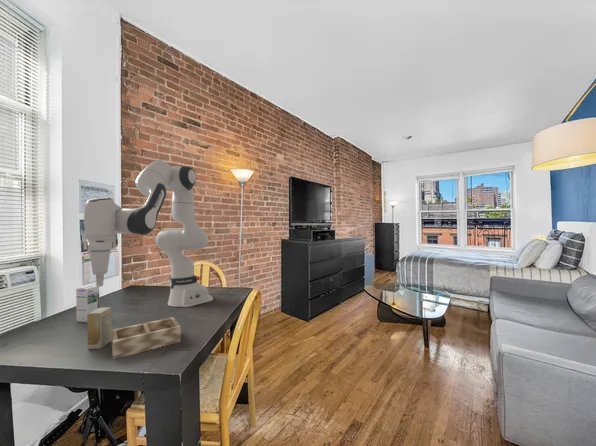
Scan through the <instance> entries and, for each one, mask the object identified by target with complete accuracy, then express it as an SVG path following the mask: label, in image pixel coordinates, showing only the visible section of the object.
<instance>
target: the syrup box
mask: <svg viewBox="0 0 596 446" xmlns="http://www.w3.org/2000/svg"><path fill="white" fill-rule="evenodd" d="M75 292H76V293H75V295H76V296H75V299H76V300H75V302H76V305H75V306H76V308H75V309H76V322H79V323H80V322H82V323H87V314H88V313H90V312H92V311H93V310H95V309H97V308H100V287H97V286H96V284H91V285H86V286H81V287H77V288H76V289H75Z"/></svg>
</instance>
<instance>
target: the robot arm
mask: <svg viewBox="0 0 596 446" xmlns="http://www.w3.org/2000/svg"><path fill="white" fill-rule="evenodd" d="M196 174H197V173H196V171H195V170H194V169H193V168H192V167H191V166H186V165H182V166H180V165H176V166H173V165H172V166H171V165H170V163H168V162H167V161H164V160H161V159H160V160H159V159H156V160H153V161H152V162H151V163H150V164H149V163H148V165H146V166H145V167H144V169H143V170H141V172H140V173H139V174H138V175H137V177H136V178H135V186H136V189H137V191H139V193H141V195H143V196H145V197H147V199H146V201H145V203H144V205H143V206H139V207H136V208H123V207H121V206H119V205H118V204H117V203H116V202H115V201H114V199H113V198H111V197H93V198H90V199H88V200H87V201H86V202H85V205H84V211H83V224H84V228H85V229H84V232H83V250H85V251H87V252H88V255H89V258H90V264H91V271H92V274H93V275H95V281H96V282H95V283H96V284H95V285H96V286H97V287H99V288H100V287H103V286H104V279H105V274H107V273H108V269H109V263H110V256H111V254H112V250H114V249H116V246H117V244H116V239H117V238H116V237H117V234H122V235H132V234H133V235H140V236H141V235H142V236H145V235H146V236H147V235H149V234H150V233H151V232H152V231H153V230H154V229H155V227H156V225H157V220H158V216H159V214H160V211H161V209H162V206H163V204H164V202H165V200H166V197H167V189H169V190H171V189H172V195H171V219H173V221H175V222H177V223H179V224H180V225H182V227H183V228H182V229H165V230H161V231H159V232H158V233H157V235H156V237H155V243H156V246H157V248H158V249H160V250H161V251H162V252H164V254H166V256H167V258H168V260H169V264H170V277H169V288H170V293H169V297H168V302H167V305H168V307H169V306H170V307H174V308H175V307H176V308H177V307H180V308H181V307H182V308H189V307H194V306H196V305H197V306H198V305H200V304H204V303H208V302H209V303H210V302H212V301H213V300H214V298H213V296H212V295H211V294H209V291H208V288H207V287H206V286H205V285H203V284H201V283H200V282H198V281H200V280H201V277H200V276H199V275H195V274H194V273H195V272H194V271H195V268H194V267H195V264H194V260H193V259H192V258H191V257H189V256H188V255H187V256H186V255H184V252H183V251H196V250H201V249H205V248H206V246H207V245H208V243H209V237H208V234H207V232H206V231H205V230H203V229H202V228H201V227H200V226H199V224H198V223H197V220H196V218H195V217H196V216H195V196H194V194H195V193H194V190H193V187H194V186H195V184H196V182H197V175H196Z"/></svg>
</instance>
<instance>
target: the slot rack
mask: <svg viewBox="0 0 596 446" xmlns="http://www.w3.org/2000/svg"><path fill="white" fill-rule="evenodd" d="M181 330H182V329H181V325H180V324H179V322H178V321H177V320H176V319H175V317H173V316H172V317H167V318H162V319H159V320H158V319H157V320H153V321H148V322H144V323H138V324H135V325H130V326H129V325H128V326H124V327H120V328H119V327H118V328H114V329H112V340H111V352H112V360H118V359H120V358H125V357H128V356H132V355H136V354H140V353H142V352H143V353H144V352H147V351H151V349H152V350H154V349H159V348H162V346H163V347H167V346H171V345H174V344H178V343H181V342H182V341H181V339H182V338H181V336H182V335H181V333H182V331H181ZM170 344H171V345H170ZM166 345H167V346H166ZM158 347H159V348H158Z"/></svg>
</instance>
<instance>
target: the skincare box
mask: <svg viewBox="0 0 596 446" xmlns="http://www.w3.org/2000/svg"><path fill="white" fill-rule="evenodd" d="M112 320H113V319H112V307H110V306H109V307H106V306H105V307H99V308H97V309H95V310H93V311H92V312H90V313H88V314H87V322H86V323H87V350H94V349H95V350H96V349H98V350H99V349H102V348H103V347H105V346H106V345H107V344H109V343H110V342H112V330H113V329H112V328H113V327H112V325H113V324H112V322H113V321H112Z"/></svg>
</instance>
